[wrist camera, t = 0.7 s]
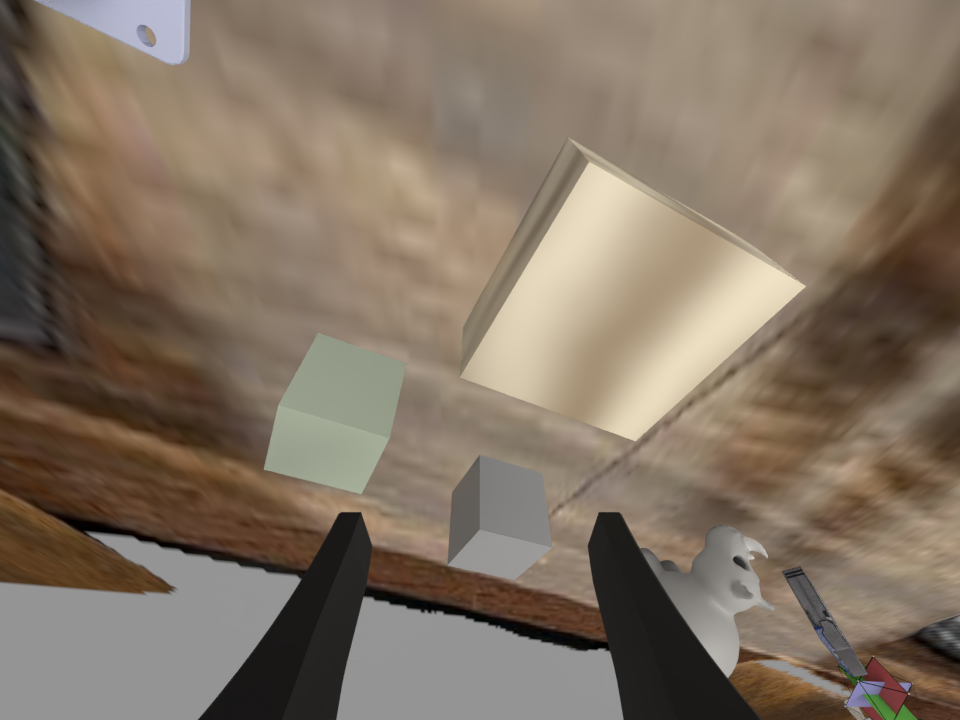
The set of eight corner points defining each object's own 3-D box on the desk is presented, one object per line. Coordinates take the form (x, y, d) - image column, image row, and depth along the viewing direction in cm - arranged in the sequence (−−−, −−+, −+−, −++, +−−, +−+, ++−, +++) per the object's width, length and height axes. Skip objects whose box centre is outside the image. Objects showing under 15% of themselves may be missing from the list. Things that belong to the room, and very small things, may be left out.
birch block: (463, 323, 20) (459, 377, 17) (566, 135, 15) (589, 161, 12) (613, 384, 22) (635, 441, 19) (746, 240, 17) (806, 286, 14)
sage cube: (302, 393, 22) (263, 469, 18) (318, 332, 20) (278, 405, 16) (381, 417, 23) (361, 494, 20) (406, 362, 21) (389, 438, 17)
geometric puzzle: (876, 669, 45) (889, 756, 43) (934, 671, 45) (949, 758, 43) (819, 641, 52) (827, 715, 50) (869, 643, 52) (880, 717, 50)
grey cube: (451, 491, 28) (447, 565, 24) (480, 453, 25) (479, 529, 22) (509, 507, 29) (514, 580, 25) (542, 472, 27) (552, 547, 23)
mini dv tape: (780, 570, 35) (827, 652, 31) (799, 565, 35) (849, 648, 30) (803, 601, 39) (847, 678, 35) (821, 597, 39) (868, 674, 34)
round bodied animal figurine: (729, 513, 34) (834, 604, 27) (635, 612, 36) (708, 724, 28) (684, 480, 31) (788, 572, 24) (583, 590, 33) (650, 709, 25)
